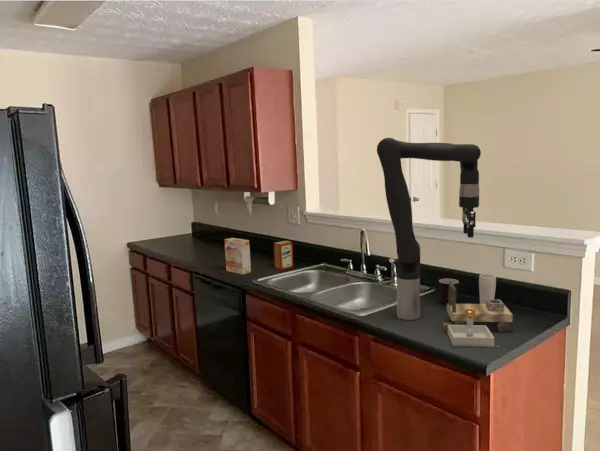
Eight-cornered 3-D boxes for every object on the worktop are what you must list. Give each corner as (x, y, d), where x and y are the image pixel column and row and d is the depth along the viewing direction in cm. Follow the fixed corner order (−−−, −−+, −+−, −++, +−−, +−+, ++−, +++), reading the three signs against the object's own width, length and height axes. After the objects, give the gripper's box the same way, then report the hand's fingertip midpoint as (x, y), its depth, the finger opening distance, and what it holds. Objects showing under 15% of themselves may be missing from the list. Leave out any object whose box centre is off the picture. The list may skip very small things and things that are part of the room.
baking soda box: (280, 270, 287) (279, 243, 285) (274, 268, 293) (273, 242, 290) (293, 267, 293) (292, 241, 290) (287, 265, 298) (286, 240, 296)
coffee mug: (438, 304, 216) (438, 283, 214) (438, 299, 224) (438, 278, 222) (465, 306, 213) (466, 284, 211) (464, 300, 221) (465, 279, 219)
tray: (453, 346, 171) (453, 337, 171) (447, 333, 183) (447, 324, 183) (494, 347, 170) (494, 337, 169) (485, 334, 181) (485, 325, 181)
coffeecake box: (225, 271, 290) (223, 239, 286) (234, 268, 295) (232, 237, 292) (242, 274, 280) (240, 241, 277) (251, 272, 285) (249, 239, 282)
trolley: (451, 331, 185) (452, 289, 182) (446, 320, 197) (447, 281, 194) (511, 332, 182) (513, 290, 179) (503, 321, 194) (504, 281, 191)
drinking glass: (478, 306, 212) (479, 273, 210) (495, 307, 210) (496, 274, 207) (477, 311, 206) (478, 277, 204) (494, 312, 203) (496, 278, 201)
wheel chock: (444, 332, 185) (444, 325, 184) (443, 329, 187) (443, 322, 187) (454, 332, 184) (454, 325, 184) (452, 329, 187) (452, 322, 186)
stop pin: (465, 339, 176) (466, 312, 174) (463, 335, 179) (464, 309, 177) (475, 339, 175) (476, 312, 173) (473, 335, 179) (474, 309, 177)
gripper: (456, 193, 198) (455, 232, 200) (462, 197, 184) (461, 238, 187) (475, 193, 197) (474, 232, 199) (483, 196, 183) (482, 238, 185)
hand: (468, 235), depth 193 cm, fingers open, 8 cm apart
